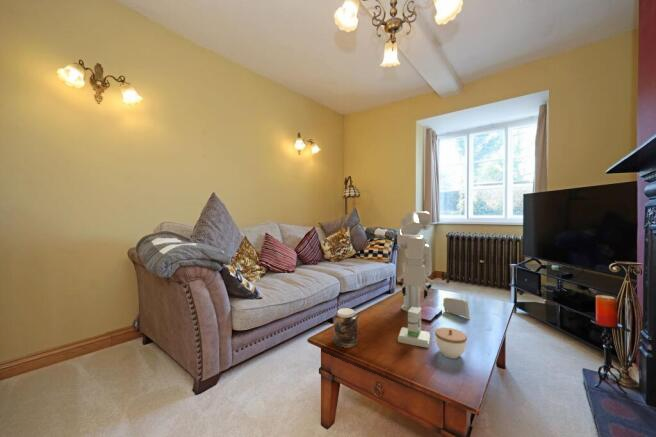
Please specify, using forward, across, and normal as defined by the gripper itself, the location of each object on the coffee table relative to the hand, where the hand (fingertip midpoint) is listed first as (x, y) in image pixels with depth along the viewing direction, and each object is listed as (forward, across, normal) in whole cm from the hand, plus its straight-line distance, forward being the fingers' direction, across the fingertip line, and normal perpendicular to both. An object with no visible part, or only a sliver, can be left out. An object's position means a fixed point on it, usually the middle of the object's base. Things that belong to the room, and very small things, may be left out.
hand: (414, 296), depth 128 cm
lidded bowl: (+21, +16, -8) cm, 28 cm away
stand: (+21, 0, -1) cm, 21 cm away
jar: (+21, -30, -17) cm, 40 cm away
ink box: (+18, 0, -1) cm, 19 cm away
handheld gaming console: (+23, +20, +42) cm, 52 cm away
